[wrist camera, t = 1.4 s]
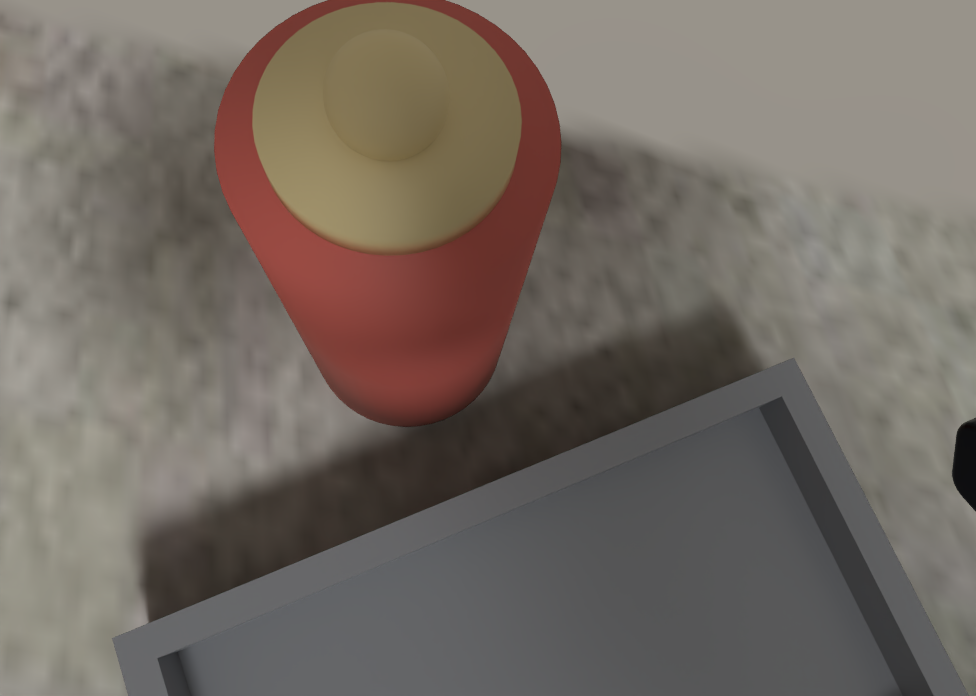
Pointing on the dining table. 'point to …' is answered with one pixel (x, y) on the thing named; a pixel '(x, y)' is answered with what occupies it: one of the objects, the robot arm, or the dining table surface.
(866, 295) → the dining table surface
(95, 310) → the dining table surface
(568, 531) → the tray
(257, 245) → the pepper mill
